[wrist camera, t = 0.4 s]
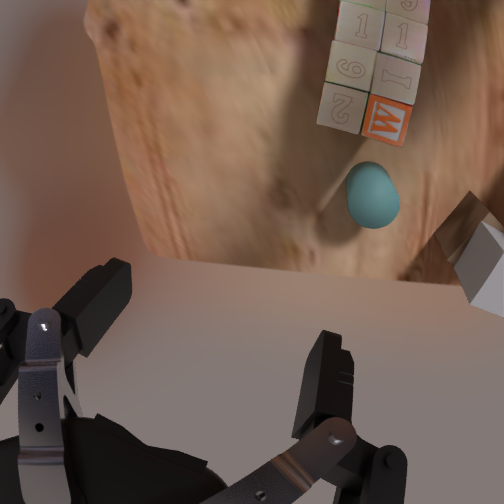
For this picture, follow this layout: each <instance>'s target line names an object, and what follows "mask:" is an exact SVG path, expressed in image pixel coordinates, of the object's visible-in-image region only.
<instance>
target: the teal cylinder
mask: <svg viewBox="0 0 504 504" xmlns="http://www.w3.org/2000/svg"><path fill="white" fill-rule="evenodd" d="M346 189H347V200H348V209H349V213H350V215H351V217H352V218H353V219H354V221H355V222H357V223H358V224H359V225H361V226H363V227H366V228H371V229H376V228H381V227H384V226H386V225H388V224H389V223H391V222H392V221H393V220H394V219H395V217H396V216H397V214H398V212H399V208H400V199H399V195H398V193H397V191H396V189H395V187H394V185H393V183H392V181H391V179H390V177H389V175H388V173H387V171H386V170H385V169H384V168H383V167H382V166H381V165H379V164H377V163H375V162H369V161H368V162H361V163H359V164H357V165H355V166H354V167H353V168H352V169H351V170H350V171H349V173H348V175H347V178H346Z"/></svg>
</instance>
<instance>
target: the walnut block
mask: <svg viewBox="0 0 504 504" xmlns="http://www.w3.org/2000/svg"><path fill="white" fill-rule="evenodd" d="M480 221H482V222H484V223H486V224H488V225H490V226H492V227H494V228H495V229H497V230H499V231H501V232H503V233H504V227H503V226H502V225H501V224H500V222H499V221H498V220H497V219H496V218H495V217H494V216H493V215H492V213H491V212H490V211H489V210H488V209H487V208H486V207H485V206H484V205H483V204H482V203H481V201H480V200H479V199H478V198H477V197H476V196H475V195H474V194H473V193H472V192H471V191H469V192H468V193H467V195H466V196H465V197H464V198H463V200H462V201H461V202H460V203H459V204H458V206H457V207H456V208H455V209H454V210H453V212H452V213H451V214H450V215H449V216H448V217H447V219H446V220H445V221H444V222H443V223H442V224H441V225H440V227H439V228H438V229H437V230H436V231H435V232H434V235H435V237H436V239H437V241H438V243H439V245H440V247H441V249H442V251H443V253H444V255H445V257H446V259H447V261H449V262H450V263H451V264H452V265H453V266H455V265H456V263H457V262H458V260H459V258H460V257H461V255H462V253H463V251H464V250H465V248H466V246H467V245H468V243H469V241H470V239H471V238H472V236H473V234H474V232H475V230H476V228H477V227H478V225H479V223H480Z"/></svg>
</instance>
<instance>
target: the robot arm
mask: <svg viewBox="0 0 504 504" xmlns="http://www.w3.org/2000/svg"><path fill="white" fill-rule="evenodd" d="M131 295H132V278H131V265H130V263H127V262H125V261H122V260H120V259H117V258H115V257H114V258H112V259H110V260H109V261H108V262H107V263H106V264H105V265H104V266H101V265H98V266H96V267H94V268H92V269H90V270H89V271H88V272H87V273H86V274H84V276H82V277H81V279H79V281H77V283H76V284H75V286H73V287H72V288H71V289H70V290H69V291H68V292H67V293H66V294H65V295H64V296H63V297H62V298H61V299H60V300H59V301H58V302H57V303H56V304H55V305H54V307H52V308H42V309H39V310H37V311H35V312H34V313H33V314H32V313H27V312H22V311H18V310H16V308H15V305H14V304H13V302H12V301H11V300H9V299H5V298H3V299H0V344H1V345H2V347H1V348H0V404H1V403H2V401H3V400H4V398H5V397H6V395H7V394H8V392H9V391H10V389H11V388H12V386H13V385H14V383H15V382H16V380H17V379H18V423H19V435H18V436H15V437H11V438H8V439H5V440H1V441H0V504H292V503H293V502H294V501H295V500H297V499H298V498H299V497H301V496H302V495H303V494H304V493H305V492H307V491H308V490H309V489H310V488H311V486H312V485H313V484H314V483H315V482H316V481H317V480H319V479H320V478H322V479H323V480H325V481H327V482H329V483H331V484H333V485H335V486H337V487H336V492H335V496H334V501H333V504H404V496H405V488H406V477H407V458H406V456H405V454H404V452H403V451H402V450H401V449H400V448H398V447H396V446H393V445H386V446H383V447H381V448H378V447H376V446H374V445H372V444H370V443H368V442H366V441H364V440H363V439H361V438H360V437H359V436H358V435H357V434H356V431H355V428H354V427H353V425H352V421H351V417H352V402H353V383H354V377H353V375H354V361H353V358H352V356H351V354H350V351H347V350H343V349H341V343H342V336H341V335H339V334H336V333H333V332H329V331H326V330H323V331H322V332H321V333H320V335H319V337H318V339H317V341H316V342H315V344H314V346H313V348H312V350H311V351H310V353H309V356H308V358H307V361H306V364H305V368H304V375H303V380H302V385H301V391H300V396H299V401H298V407H297V413H296V417H295V422H294V427H293V432H292V438H296V439H299V441H298V442H297V443H296V444H294V445H293V446H292V447H290V448H289V449H288V450H286V451H285V452H283V453H282V454H280V455H277V456H276V457H274V458H273V459H271V460H270V461H268V462H267V463H265V464H264V465H262V466H261V467H260V468H258V469H256V470H255V471H253V472H252V473H250V474H249V475H247V476H246V477H244V478H242V479H241V480H239V481H238V482H236V483H234V484H233V485H231V486H229V487H228V486H227V485H226V483H225V482H224V481H223V480H222V479H221V478H220V477H219V476H218V475H217V474H216V473H214V472H213V471H212V470H210V469H209V468H207V467H206V465H207V463H208V461H205V460H202V459H199V458H196V457H194V456H191V455H188V454H186V453H183V452H180V451H176V450H169V449H163V448H158V447H152V446H148V445H146V444H144V443H143V442H141V441H140V440H139V439H138V438H136V437H135V436H134V435H132V434H131V433H130V432H129V431H128V430H126V429H125V428H124V427H123V426H121V425H119V424H117V423H115V422H113V421H111V420H109V419H107V418H105V417H104V416H102V415H100V414H98V413H97V415H96V416H95V418H94V419H92V418H86V417H83V415H82V410H81V407H80V404H79V399H78V390H77V380H76V367H75V359H74V358H75V357H76V355H77V354H78V353H79V354H81V355H83V356H84V357H88V356H89V354H90V353H91V352H92V350H93V349H94V347H95V346H96V345H97V343H98V342H99V341H100V339H101V338H102V337H103V335H104V334H105V333H106V331H107V330H108V329H109V327H110V326H111V325H112V324H113V322H114V321H115V320H116V318H117V317H118V316H119V314H120V313H121V312H122V311H123V309H124V308H125V307H126V305H127V304H128V303H129V300H130V298H131Z"/></svg>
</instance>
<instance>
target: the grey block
mask: <svg viewBox="0 0 504 504" xmlns="http://www.w3.org/2000/svg"><path fill="white" fill-rule="evenodd" d="M454 270H455V272H456V274H457V276H458V278H459V281H460V283H461V285H462V287H463V290H464V292H465V294H466V297H467V299H468V301H469V304H470V305H473V306H476V307H478V308H481V309H483V310H486V311H489V312H491V313H494V314H496V315H499V316H502V317H504V233H503V232H501V231H499V230H497V229H495V228H494V227H492V226H490V225H488V224H486V223H484V222H482V221H480V223H479V225H478V227H477V228H476V230H475V232H474V234H473V236H472V238H471V239H470V241H469V243H468V245H467V246H466V248H465V250H464V251H463V253H462V255H461V257H460V258H459V260H458V262H457V263H456V265H455V266H454Z"/></svg>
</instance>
